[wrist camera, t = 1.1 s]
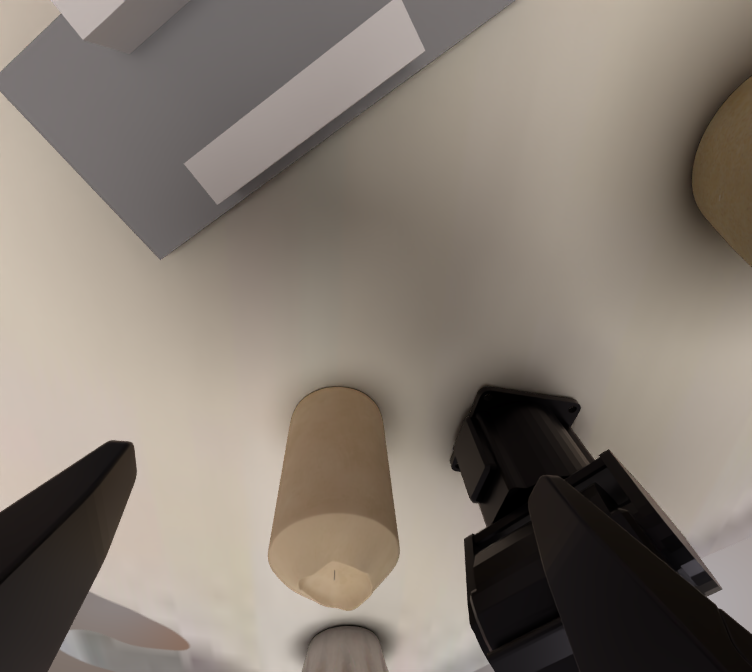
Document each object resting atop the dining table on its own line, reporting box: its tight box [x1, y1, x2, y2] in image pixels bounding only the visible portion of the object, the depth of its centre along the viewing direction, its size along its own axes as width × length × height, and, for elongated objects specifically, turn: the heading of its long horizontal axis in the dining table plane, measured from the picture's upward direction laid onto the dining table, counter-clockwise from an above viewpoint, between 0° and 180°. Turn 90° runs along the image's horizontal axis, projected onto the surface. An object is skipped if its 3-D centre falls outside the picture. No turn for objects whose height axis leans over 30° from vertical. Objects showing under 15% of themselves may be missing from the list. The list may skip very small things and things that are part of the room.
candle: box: [268, 387, 400, 611], centre depth 20 cm, size 6×6×10 cm
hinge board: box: [0, 0, 515, 260], centre depth 14 cm, size 8×18×4 cm, turn 122°
